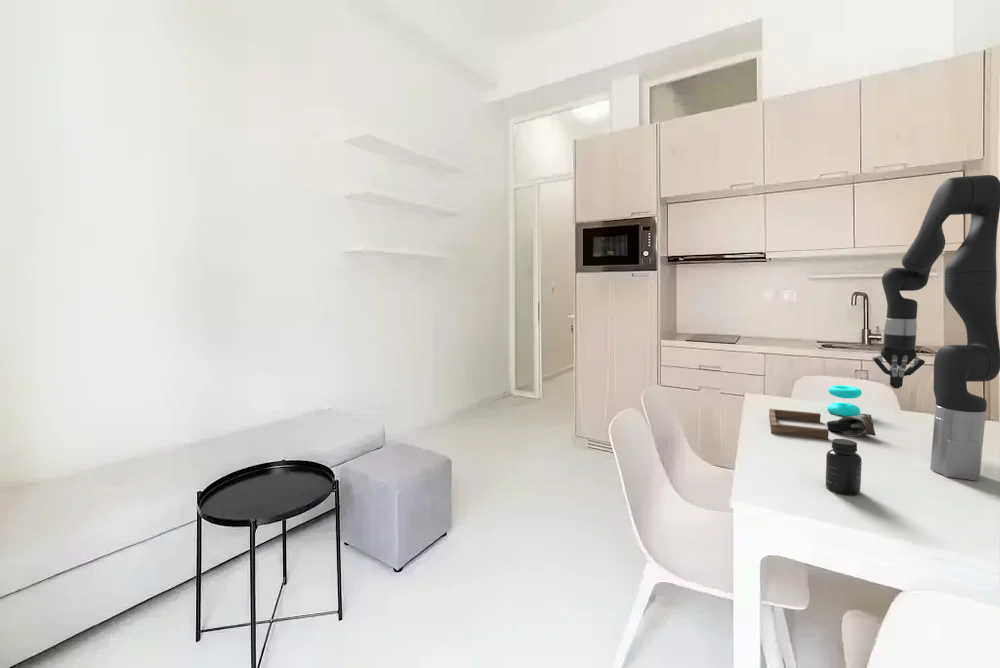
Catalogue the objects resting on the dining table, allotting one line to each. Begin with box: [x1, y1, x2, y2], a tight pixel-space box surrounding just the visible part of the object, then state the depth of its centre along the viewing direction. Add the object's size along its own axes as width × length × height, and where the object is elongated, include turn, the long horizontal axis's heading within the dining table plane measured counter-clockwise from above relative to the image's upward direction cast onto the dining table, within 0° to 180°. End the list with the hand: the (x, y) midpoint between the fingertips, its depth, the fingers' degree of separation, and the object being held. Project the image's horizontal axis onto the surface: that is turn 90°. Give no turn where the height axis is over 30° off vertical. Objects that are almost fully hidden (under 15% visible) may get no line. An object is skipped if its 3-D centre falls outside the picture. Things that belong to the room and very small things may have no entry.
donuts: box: [826, 384, 862, 417], centre depth 174 cm, size 10×10×10 cm
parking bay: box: [768, 408, 830, 441], centre depth 160 cm, size 21×16×3 cm
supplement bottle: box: [825, 438, 862, 496], centre depth 112 cm, size 7×7×12 cm
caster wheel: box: [826, 412, 876, 437], centre depth 153 cm, size 7×11×10 cm
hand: (895, 387), depth 146 cm, fingers closed
